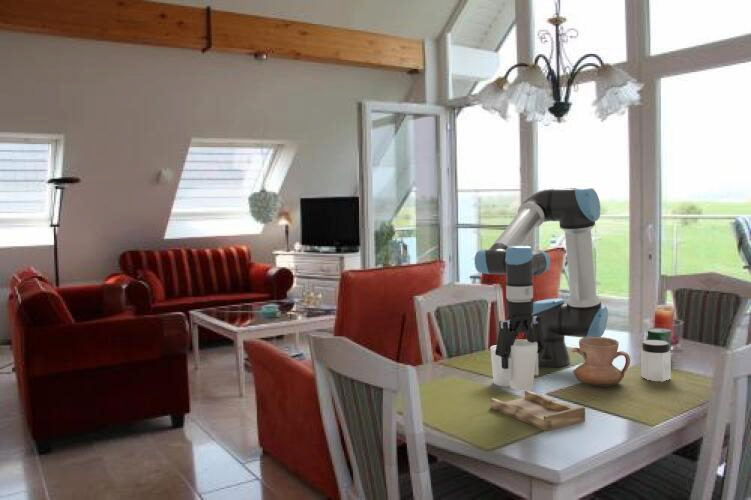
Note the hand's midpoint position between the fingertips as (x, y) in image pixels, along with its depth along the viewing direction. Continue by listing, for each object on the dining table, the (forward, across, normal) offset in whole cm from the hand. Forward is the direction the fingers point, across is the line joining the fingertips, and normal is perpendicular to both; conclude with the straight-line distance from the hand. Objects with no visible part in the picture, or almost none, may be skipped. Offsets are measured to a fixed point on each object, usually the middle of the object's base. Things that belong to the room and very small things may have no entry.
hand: (521, 376), depth 187 cm
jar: (+9, +56, -1) cm, 57 cm away
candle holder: (+10, +13, +23) cm, 28 cm away
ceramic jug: (+9, +37, +5) cm, 39 cm away
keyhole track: (+9, 0, -6) cm, 11 cm away
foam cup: (+3, 0, 0) cm, 3 cm away
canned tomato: (+9, +77, +14) cm, 79 cm away
